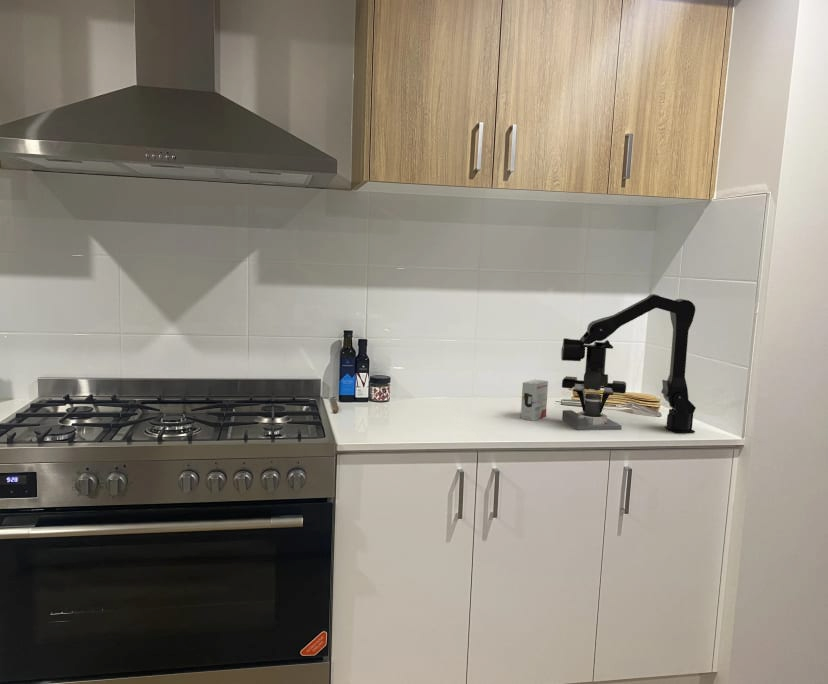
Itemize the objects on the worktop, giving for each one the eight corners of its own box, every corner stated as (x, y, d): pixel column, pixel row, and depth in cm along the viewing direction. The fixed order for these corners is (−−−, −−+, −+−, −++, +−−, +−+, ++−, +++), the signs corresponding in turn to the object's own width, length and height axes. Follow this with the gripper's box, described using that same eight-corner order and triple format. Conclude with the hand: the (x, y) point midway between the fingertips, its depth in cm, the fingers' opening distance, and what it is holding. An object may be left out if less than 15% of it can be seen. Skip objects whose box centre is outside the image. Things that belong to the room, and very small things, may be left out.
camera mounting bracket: (603, 419, 214) (604, 408, 213) (621, 429, 202) (622, 417, 202) (562, 420, 211) (562, 408, 211) (578, 430, 199) (578, 417, 199)
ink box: (533, 414, 218) (535, 378, 217) (546, 416, 215) (549, 380, 214) (519, 418, 212) (522, 381, 210) (533, 421, 209) (535, 384, 207)
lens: (584, 414, 209) (586, 392, 208) (600, 416, 208) (601, 393, 207) (583, 417, 205) (584, 394, 204) (599, 419, 203) (600, 396, 202)
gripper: (560, 363, 200) (557, 414, 202) (626, 368, 193) (622, 421, 195) (565, 358, 210) (562, 407, 212) (628, 363, 204) (624, 413, 206)
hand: (592, 412), depth 206 cm, fingers closed on lens, 5 cm apart
